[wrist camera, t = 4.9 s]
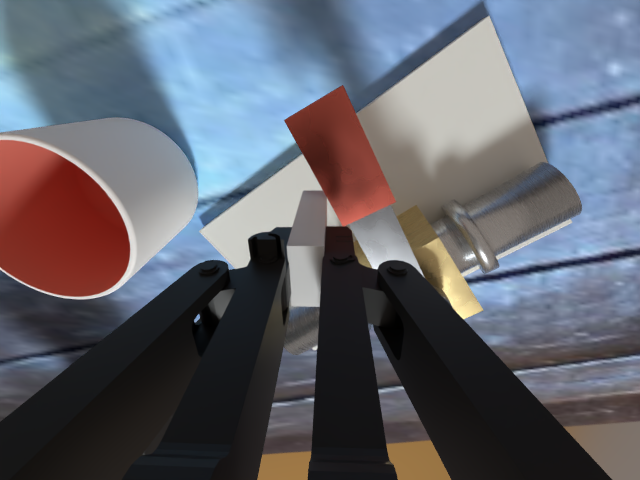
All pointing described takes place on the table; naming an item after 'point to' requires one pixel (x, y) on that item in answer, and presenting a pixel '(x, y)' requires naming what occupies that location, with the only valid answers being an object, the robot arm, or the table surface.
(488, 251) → the valve
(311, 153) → the lever
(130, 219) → the cup
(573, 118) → the table surface
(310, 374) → the table surface
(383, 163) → the board
